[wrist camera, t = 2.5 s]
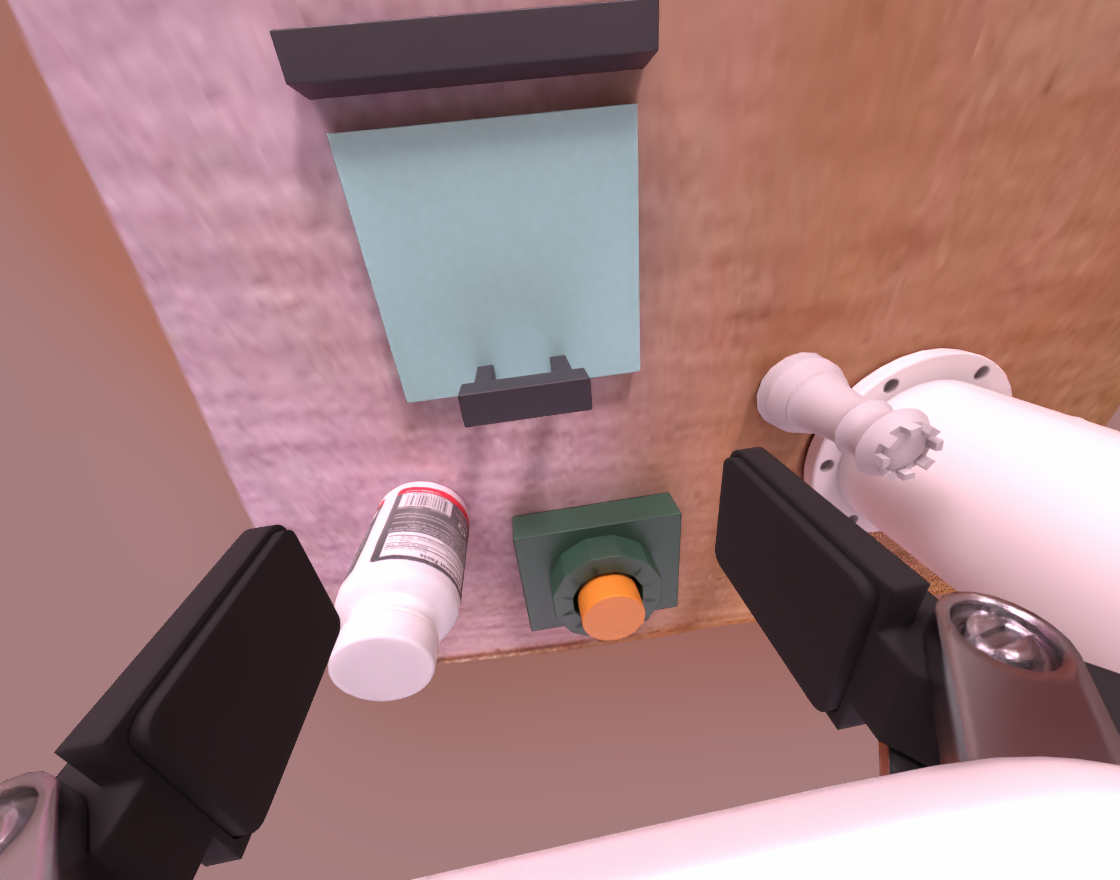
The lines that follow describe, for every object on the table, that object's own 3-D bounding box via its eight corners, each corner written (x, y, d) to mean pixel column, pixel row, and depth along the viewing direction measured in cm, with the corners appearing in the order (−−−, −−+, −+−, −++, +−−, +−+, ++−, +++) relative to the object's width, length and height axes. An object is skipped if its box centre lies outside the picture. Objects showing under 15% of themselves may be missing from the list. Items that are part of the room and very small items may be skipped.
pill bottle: (423, 563, 26) (381, 728, 17) (358, 511, 24) (272, 671, 15) (489, 520, 25) (480, 671, 16) (428, 461, 23) (379, 600, 14)
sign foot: (643, 21, 15) (659, -4, 14) (643, 69, 16) (658, 50, 14) (293, 51, 15) (268, 28, 13) (309, 100, 15) (285, 84, 14)
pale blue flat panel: (632, 108, 17) (684, 55, 12) (636, 367, 22) (673, 405, 17) (333, 137, 16) (257, 94, 11) (410, 397, 21) (381, 447, 16)
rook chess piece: (818, 417, 24) (945, 492, 17) (747, 427, 24) (847, 507, 17) (834, 344, 22) (986, 395, 15) (756, 355, 22) (875, 411, 15)
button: (636, 567, 23) (645, 591, 22) (637, 610, 25) (645, 635, 23) (574, 577, 23) (579, 602, 21) (579, 620, 25) (584, 645, 23)
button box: (668, 491, 26) (694, 533, 22) (666, 582, 29) (688, 629, 26) (512, 516, 25) (513, 562, 22) (529, 605, 29) (533, 657, 25)
